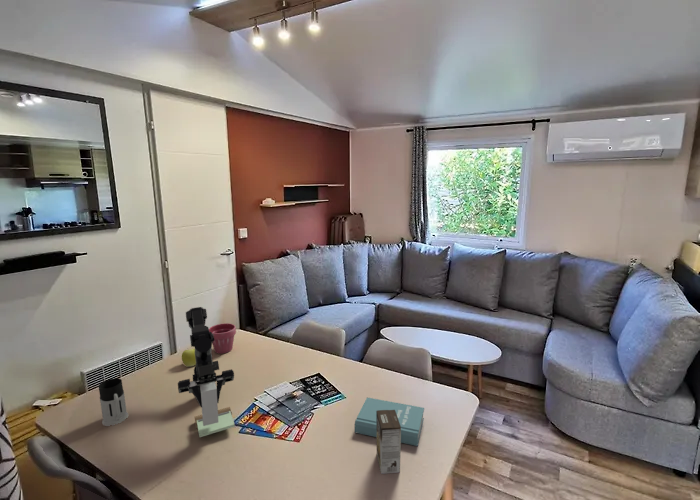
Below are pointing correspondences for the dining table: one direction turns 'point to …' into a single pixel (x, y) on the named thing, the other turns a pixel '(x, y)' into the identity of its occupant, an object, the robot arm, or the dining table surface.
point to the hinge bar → (218, 413)
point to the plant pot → (223, 337)
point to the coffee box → (388, 441)
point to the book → (406, 415)
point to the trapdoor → (216, 424)
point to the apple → (189, 358)
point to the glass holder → (112, 402)
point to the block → (209, 403)
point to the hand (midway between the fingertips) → (209, 405)
